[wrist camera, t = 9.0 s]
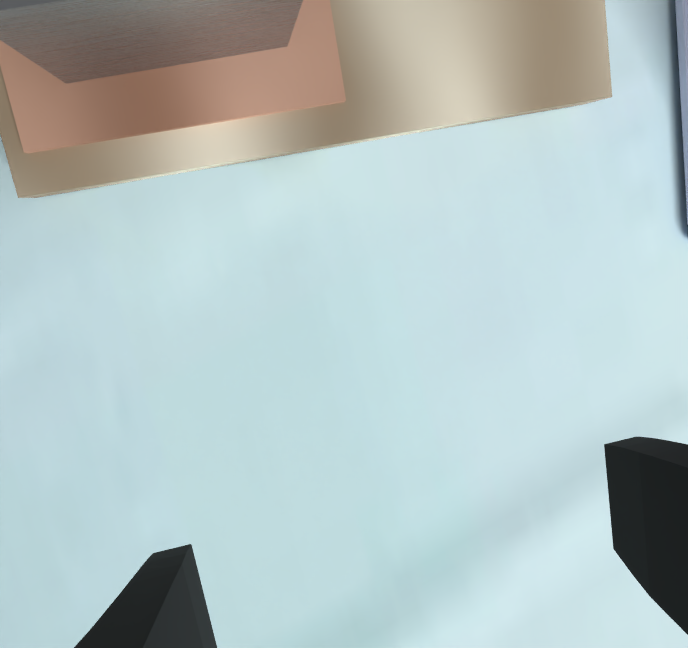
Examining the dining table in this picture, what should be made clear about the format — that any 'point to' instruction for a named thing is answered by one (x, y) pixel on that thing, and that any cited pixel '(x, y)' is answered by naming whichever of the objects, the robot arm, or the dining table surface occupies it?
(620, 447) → the robot arm
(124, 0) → the collar
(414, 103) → the stand
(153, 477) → the dining table surface
